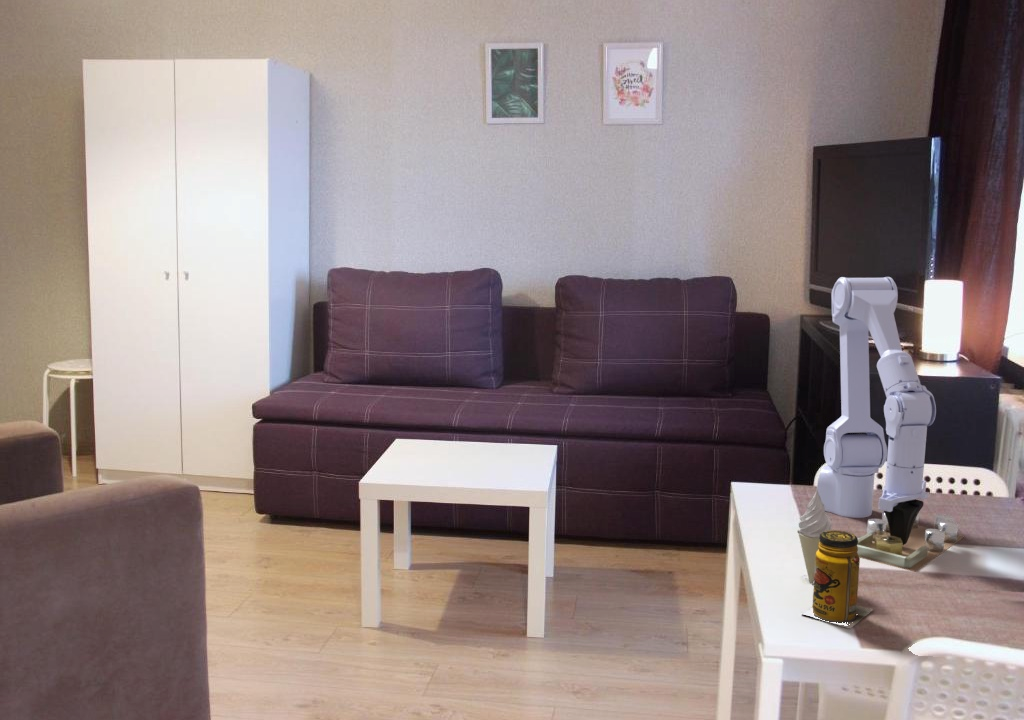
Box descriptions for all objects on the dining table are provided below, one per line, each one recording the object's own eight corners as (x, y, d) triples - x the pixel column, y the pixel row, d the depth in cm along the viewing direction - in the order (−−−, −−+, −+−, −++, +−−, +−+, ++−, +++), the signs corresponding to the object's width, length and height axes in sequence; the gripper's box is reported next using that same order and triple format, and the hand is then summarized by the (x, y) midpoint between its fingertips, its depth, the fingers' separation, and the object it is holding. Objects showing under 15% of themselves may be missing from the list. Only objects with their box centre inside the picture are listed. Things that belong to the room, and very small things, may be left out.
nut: (876, 557, 172) (877, 542, 171) (873, 548, 176) (874, 533, 176) (902, 560, 171) (903, 544, 171) (898, 550, 176) (899, 535, 175)
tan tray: (839, 559, 175) (840, 543, 174) (893, 526, 191) (894, 511, 190) (914, 578, 166) (915, 562, 166) (964, 542, 183) (965, 527, 182)
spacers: (863, 538, 181) (864, 521, 180) (894, 519, 191) (896, 503, 190) (936, 556, 173) (937, 538, 172) (964, 535, 183) (966, 519, 182)
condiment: (800, 615, 153) (805, 535, 150) (825, 598, 159) (830, 521, 157) (849, 630, 148) (855, 548, 146) (873, 611, 154) (879, 532, 152)
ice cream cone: (828, 579, 166) (835, 486, 163) (827, 591, 161) (833, 495, 159) (795, 574, 168) (801, 483, 165) (793, 586, 163) (798, 492, 160)
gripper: (912, 477, 166) (905, 560, 169) (946, 459, 177) (939, 537, 179) (868, 468, 171) (862, 549, 174) (904, 451, 182) (898, 527, 184)
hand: (899, 542), depth 177 cm, fingers closed
